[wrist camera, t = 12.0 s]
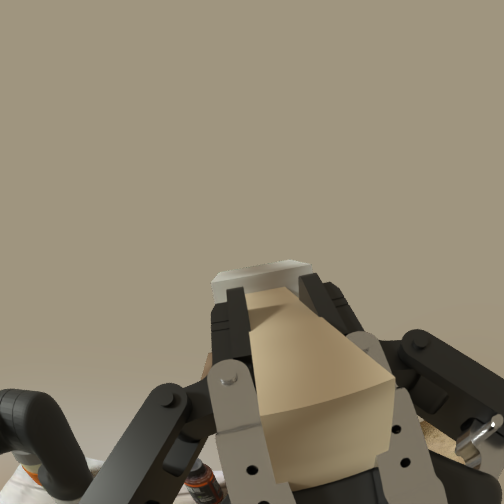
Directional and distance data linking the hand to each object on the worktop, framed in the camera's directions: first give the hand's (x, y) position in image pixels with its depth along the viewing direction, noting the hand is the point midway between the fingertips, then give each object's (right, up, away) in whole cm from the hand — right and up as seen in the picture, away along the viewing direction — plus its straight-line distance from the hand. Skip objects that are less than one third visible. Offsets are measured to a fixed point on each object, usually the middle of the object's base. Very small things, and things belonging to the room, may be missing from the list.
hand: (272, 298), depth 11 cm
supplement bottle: (-9, -46, +23) cm, 52 cm away
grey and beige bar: (+1, -4, +2) cm, 4 cm away
